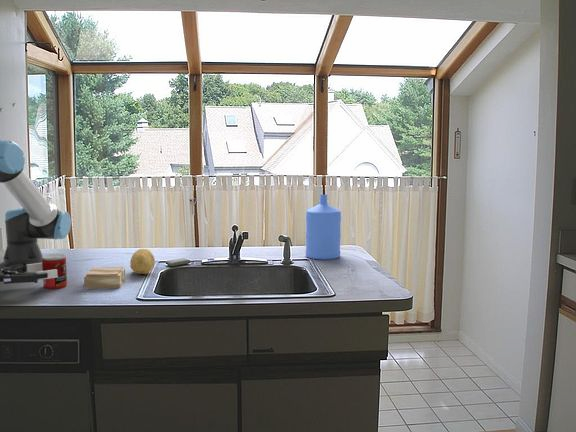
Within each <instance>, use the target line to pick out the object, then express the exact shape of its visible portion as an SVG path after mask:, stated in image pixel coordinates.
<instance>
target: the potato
mask: <svg viewBox="0 0 576 432" xmlns="http://www.w3.org/2000/svg"><path fill="white" fill-rule="evenodd" d="M129 264H130V269H131V270H132V272H133V273H136V274H138V275H147V274H149V273H150V272H151V271H153V269H154V268H155V264H156V260H155V256H154V254H153V252H152V251H151V249H148V248H140V249H138V250H135V252H134V253H133V254H132V256H131V258H130V263H129Z"/></svg>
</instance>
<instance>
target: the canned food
mask: <svg viewBox="0 0 576 432" xmlns="http://www.w3.org/2000/svg"><path fill="white" fill-rule="evenodd" d="M41 263H42V269H43V270H42V271H47V270H55V269H57V276H58V277H57V278H50V279H43V280H42V283H43V288H44V289H46V290H57V289H62V288H66V287H67V285H68V273H67V257H66V254H62V253H54V254H52V253H51V254H47V255H43V257H42V262H41Z"/></svg>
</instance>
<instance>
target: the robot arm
mask: <svg viewBox="0 0 576 432" xmlns="http://www.w3.org/2000/svg"><path fill="white" fill-rule="evenodd" d="M24 155H25V154H24V151H23V148H21V146H20V145H19V144H18V143H16V141H15V142H14V141H12V140H6V139H0V184H3V185H4V187H5V188H6V189H7V191H8V192H9V193H10V194H11V195H12V196H13V198H14V199H15V200H16V201H17V202H18V203H19V205H20V208H14V209H9V210H7V211H6V212H5V215H4V217H5V218H4V224H5V233H6V235H5V236H6V238H5V239H6V248H5V251H4V255H3V257H2V258H3V259H2V261H3V265H4V266H6V267H3V268H2V267H1V268H0V283H1V282H3V284H4V285H7V284H19V283H20V284H22V283H23V284H24V283H26V284H27V283H34V284H37V283H38V281H41V280H42V281H43V279H50V278H57V277H58V276H57V269H55V270H47V271H43V269H42V257H43V256H44V255H43V253H42V251H41V249H40V246H39V243H38V239H43V240H46V239H47V240H63V239H66V237H68V235H69V233H70V231H71V227H72V226H71V225H72V218H71V215H70V214H69V212H68V211H65V210H62V211H60V210H59V209H58V207H57V206H56V205H55V204H54V203H50V202H48V201H47V199H46V198H45V197H44V196H43V194H42V193H41V191H40V190H39V189H38V187H37V186H36V184H35V183H34V182H33V180H31V179H30V177H29V176H28V174H27V173H26V172H25V170H24V169H25V163H26V160H25V159H26V158H25V156H24Z"/></svg>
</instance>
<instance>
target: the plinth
mask: <svg viewBox="0 0 576 432" xmlns="http://www.w3.org/2000/svg"><path fill="white" fill-rule="evenodd" d="M125 280H126V268H125V267H123V266H108V267H107V266H106V267H98V266H97V267H91V269H90V270H89V271H88V272H87V273H86V274H85V275H84V276H83V283H84V285H83V286H84V290H93V289H94V290H97V289H102V290H103V289H121V287H122V285H123V284H124V283H125Z"/></svg>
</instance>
